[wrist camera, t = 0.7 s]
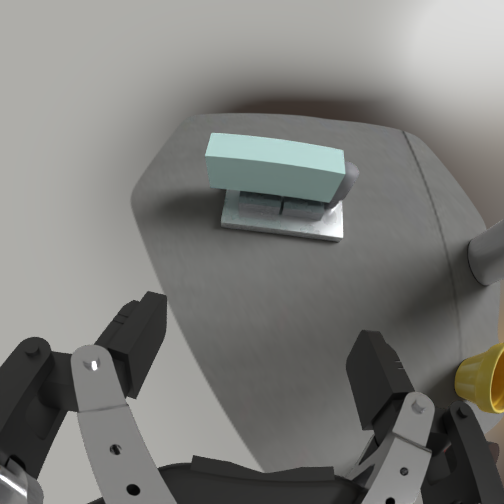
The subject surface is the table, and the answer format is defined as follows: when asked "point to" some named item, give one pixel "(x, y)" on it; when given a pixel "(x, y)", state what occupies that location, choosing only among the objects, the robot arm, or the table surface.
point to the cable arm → (278, 167)
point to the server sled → (283, 215)
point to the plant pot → (483, 380)
